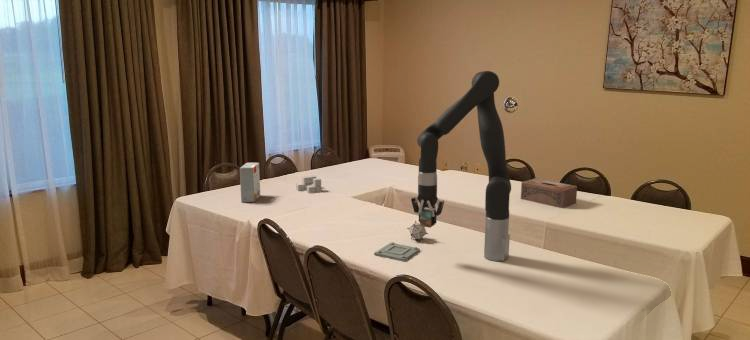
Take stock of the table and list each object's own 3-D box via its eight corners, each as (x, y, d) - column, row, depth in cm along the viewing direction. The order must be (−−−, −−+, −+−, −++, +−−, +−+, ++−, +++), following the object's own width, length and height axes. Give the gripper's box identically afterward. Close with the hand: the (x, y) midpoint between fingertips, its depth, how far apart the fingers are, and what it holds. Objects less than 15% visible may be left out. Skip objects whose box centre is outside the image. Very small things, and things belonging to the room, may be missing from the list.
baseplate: (419, 250, 227) (419, 247, 226) (404, 261, 215) (404, 257, 215) (390, 244, 234) (390, 241, 234) (374, 255, 222) (374, 251, 222)
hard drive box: (254, 202, 300) (252, 167, 296) (241, 202, 301) (238, 167, 296) (260, 195, 316) (259, 162, 311) (248, 195, 316) (246, 162, 311)
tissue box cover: (575, 203, 296) (577, 186, 294) (562, 208, 287) (563, 190, 284) (534, 194, 315) (535, 178, 313) (520, 199, 305) (521, 182, 303)
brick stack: (435, 224, 216) (435, 210, 215) (430, 227, 212) (430, 213, 211) (424, 222, 218) (424, 208, 217) (420, 226, 215) (420, 211, 213)
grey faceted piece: (416, 248, 239) (407, 235, 233) (410, 236, 246) (401, 222, 240) (433, 239, 239) (425, 225, 233) (427, 227, 246) (419, 213, 240)
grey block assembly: (296, 189, 328) (295, 177, 327) (314, 187, 334) (314, 175, 332) (302, 194, 318) (302, 181, 316) (321, 192, 323) (321, 179, 321)
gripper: (448, 182, 211) (447, 223, 215) (415, 178, 218) (415, 219, 222) (440, 186, 205) (440, 229, 209) (407, 182, 212) (407, 224, 216)
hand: (427, 223), depth 215 cm, fingers closed on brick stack, 4 cm apart
